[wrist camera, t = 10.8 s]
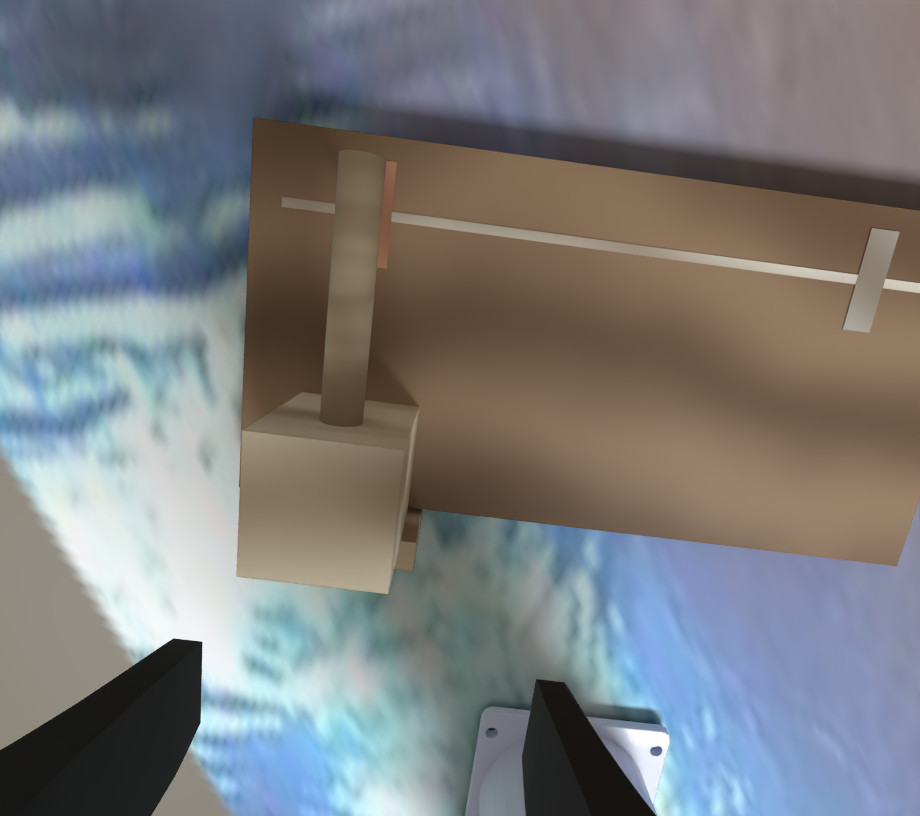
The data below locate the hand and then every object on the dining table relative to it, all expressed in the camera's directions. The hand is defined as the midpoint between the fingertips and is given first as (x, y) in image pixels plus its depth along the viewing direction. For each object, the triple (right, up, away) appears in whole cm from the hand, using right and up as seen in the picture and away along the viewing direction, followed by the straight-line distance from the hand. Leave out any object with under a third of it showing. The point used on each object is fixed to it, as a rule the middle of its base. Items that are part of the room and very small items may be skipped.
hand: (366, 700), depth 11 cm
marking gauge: (-1, +8, +8) cm, 11 cm away
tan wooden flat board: (+7, +8, +8) cm, 13 cm away
